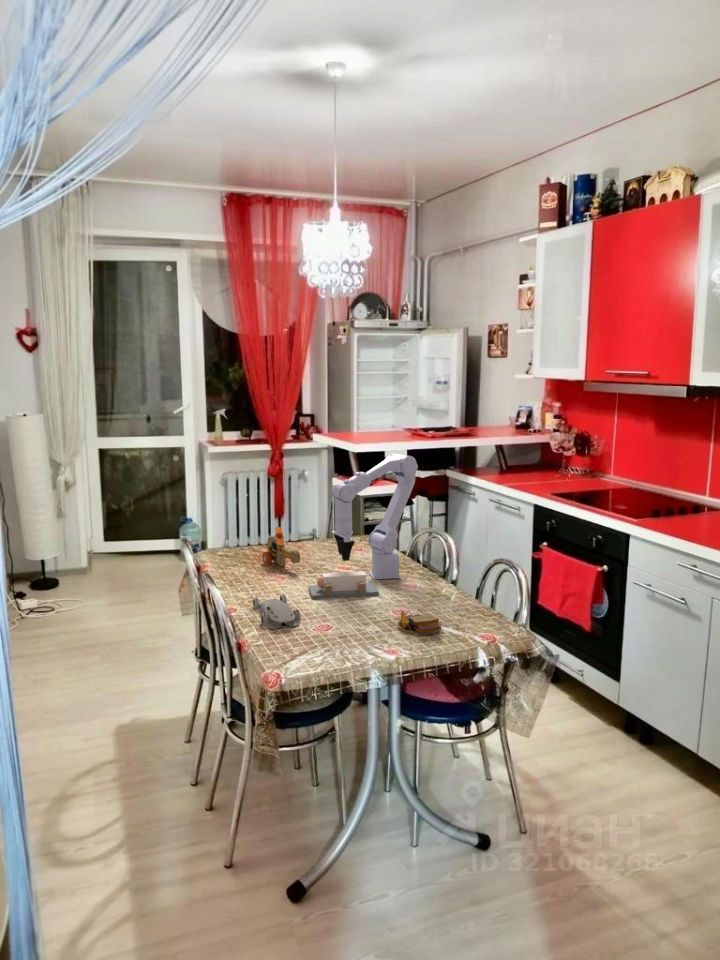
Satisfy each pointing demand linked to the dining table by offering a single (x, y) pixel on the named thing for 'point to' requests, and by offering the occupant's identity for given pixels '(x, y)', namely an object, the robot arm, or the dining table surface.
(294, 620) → the car model
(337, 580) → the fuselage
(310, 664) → the dining table surface
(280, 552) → the toy helicopter
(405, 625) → the toy sandwich meal
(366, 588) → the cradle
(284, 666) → the dining table surface
